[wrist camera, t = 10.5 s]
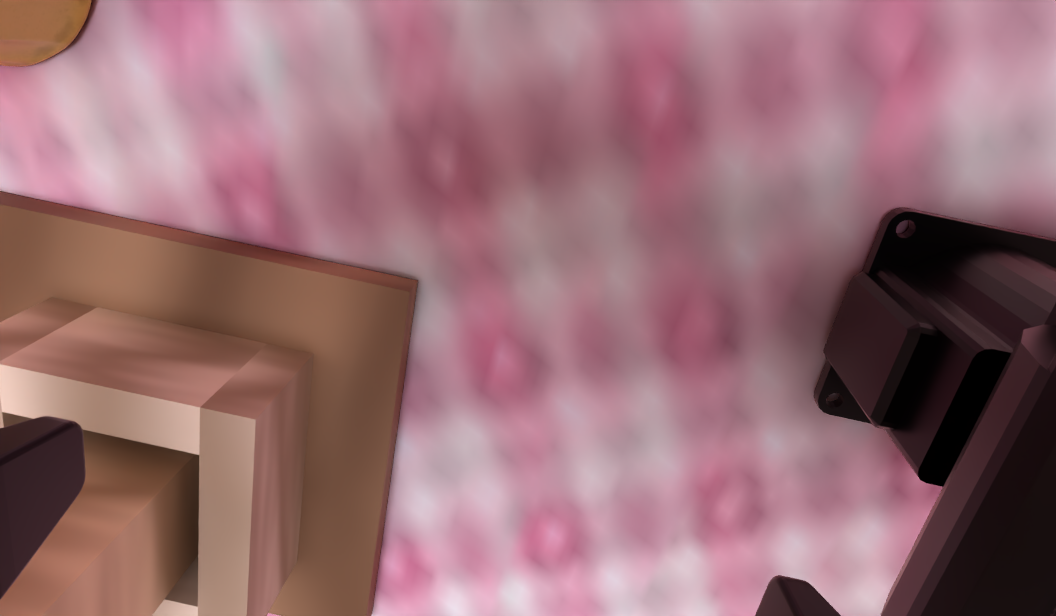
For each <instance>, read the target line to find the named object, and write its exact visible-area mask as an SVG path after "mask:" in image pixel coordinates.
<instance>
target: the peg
mask: <svg viewBox="0 0 1056 616" xmlns="http://www.w3.org/2000/svg"><path fill="white" fill-rule="evenodd" d="M82 430H83V429H82ZM83 438H84V453H85V469H86V476H85V482H84V485H83V487H82V489H81V491H80V493H79V495H78V496H77V498H76V499H75V500H74V502H73V503H72V504H71V506H70V507H69V509H68V510H67V511H66V513H65V514H64V515H63V517H62V518H61V519H60V521H59V522H58V523H57V525H56V526H55V528H54V529H53V530H52V532H51V533H50V534H49V536H48V537H47V538H46V540H45V541H44V543H43V544H42V545H41V547H40V548H39V549H38V551H37V552H36V553H35V555H34V556H33V557H32V559H31V560H30V562H29V563H28V564H27V566H26V567H25V568H24V570H23V571H22V572H21V574H20V575H19V577H18V578H17V579H16V581H15V582H14V583H13V584H12V586H11V587H10V588H9V589H8V591H7V592H6V593H5V595H4V596H3V597H2V598H1V599H0V616H152V615H153V613H154V612H155V611H156V610H157V608H158V607H159V606H160V604H161V603H162V602H163V600H164V599H165V598H166V596H167V595H168V594H169V592H170V591H171V590H172V589H173V587H174V586H175V585H176V583H177V582H178V581H179V579H180V578H181V577H182V575H183V574H184V573H185V572H186V570H187V569H188V568H189V566H190V565H191V564H192V562H193V561H194V560H195V558H196V557H197V556H198V543H199V455H197V454H193V453H188V452H184V451H179V450H174V449H170V448H165V447H161V446H156V445H152V444H147V443H142V442H138V441H133V440H129V439H124V438H120V437H115V436H110V435H106V434H101V433H97V432H92V431H87V430H83Z"/></svg>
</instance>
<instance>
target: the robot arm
mask: <svg viewBox="0 0 1056 616" xmlns="http://www.w3.org/2000/svg"><path fill="white" fill-rule="evenodd" d="M904 220H909V222H910V224H909V228H908V229H907V231H906V232H904V233H902V234H897V233H896V227H897V225H898V224H899V223H900V222H902V221H904ZM824 354H825V356H826V357H827V361H826V364H825V366H824V369H823V371H822V374H821V376H820V379H819V381H818V384H817V386H816V389H815V393H814V398H815V401H816V403H817V405H818V407H819V408H820V409H821V410H822V411H823V412H824V413H827V414H829V415H834V416H839V417H843V418H848V419H853V420H857V421H862V422H867V423H871V424H873V425H874V426H875V427H878V428H883V429H884V430H885V431H886V432H887V434H888V435H889V437H890V438H891V439H892V441H893V442H894V444H895V445H896V446H897V448H898V449H899V451H900V452H901V453H902V455H903V456H904V458H905V459H906V460H907V462H908V463H909V465H910V466H911V467H912V469H913V470H914V472H915V473H916V474H917V476H918V477H919V479H920V480H921V481H923V482H926V483H929V484H934V485H938V486H943V488H942V490H941V492H940V494H939V496H938V498H937V500H936V502H935V504H934V506H933V508H932V510H931V512H930V514H929V516H928V518H927V520H926V522H925V524H924V526H923V528H922V530H921V532H920V534H919V535H918V537H917V539H916V541H915V543H914V545H913V547H912V549H911V551H910V553H909V555H908V557H907V559H906V561H905V563H904V565H903V567H902V569H901V571H900V573H899V575H898V577H897V579H896V581H895V583H894V584H893V586H892V588H891V590H890V592H889V595H888V597H887V600H886V603H885V605H884V608H883V611H882V613H881V616H1056V239H1052V238H1047V237H1043V236H1038V235H1033V234H1028V233H1024V232H1019V231H1014V230H1009V229H1004V228H1000V227H995V226H990V225H985V224H981V223H976V222H971V221H966V220H961V219H957V218H952V217H947V216H942V215H938V214H933V213H928V212H923V211H918V210H914V209H909V208H898V209H895V210H892V211H891V212H890V213H888V214H887V215H886V216H885V218H884V220H883V221H882V223H881V226H880V228H879V231H878V233H877V236H876V238H875V241H874V244H873V246H872V249H871V251H870V254H869V256H868V259H867V261H866V264H865V266H864V269H863V271H862V272H860V273H859V274H857V275H856V276H854V277H853V278H852V279H851V282H850V284H849V287H848V289H847V292H846V294H845V297H844V300H843V302H842V305H841V307H840V310H839V312H838V315H837V317H836V320H835V322H834V325H833V327H832V330H831V332H830V335H829V338H828V340H827V343H826V345H825V348H824ZM833 393H838V394H839V396H838V398H837V399H836V400H834V401H826V398H827V397H828V396H829V395H830V394H833ZM85 476H86V469H85V453H84V438H83V430H82V428H81V426H80V425H79V424H78V423H77V422H75V421H71V420H67V419H62V418H57V417H53V416H42V417H38V418H34V419H31V420H27V421H24V422H20V423H17V424H13V425H10V426H6V427H3V428H0V599H1V598H2V597H3V596H4V595H5V593H6V592H7V591H8V589H9V588H10V587H11V586H12V584H13V583H14V582H15V581H16V579H17V578H18V577H19V575H20V574H21V572H22V571H23V570H24V568H25V567H26V566H27V564H28V563H29V562H30V560H31V559H32V557H33V556H34V555H35V553H36V552H37V551H38V549H39V548H40V547H41V545H42V544H43V543H44V541H45V540H46V538H47V537H48V536H49V534H50V533H51V532H52V530H53V529H54V528H55V526H56V525H57V523H58V522H59V521H60V519H61V518H62V517H63V515H64V514H65V513H66V511H67V510H68V509H69V507H70V506H71V504H72V503H73V502H74V500H75V499H76V498H77V496H78V495H79V493H80V491H81V489H82V487H83V485H84V482H85ZM755 616H841V615H840V614H839V613H838V612H837V611H836V610H835V609H834V608H833V607H832V606H831V605H830V604H829V603H828V602H827V601H826V600H825V599H824V598H823V597H822V596H821V595H820V594H819V593H818V592H817V590H816V589H815V588H814V587H813V586H812V585H810V584H809V583H808V582H806V581H803V580H799V579H795V578H790V577H785V576H781V575H778V576H775V577H773V578H772V579H771V581H770V582H769V584H768V586H767V589H766V591H765V593H764V596H763V598H762V600H761V603H760V605H759V608H758V610H757V612H756V615H755Z"/></svg>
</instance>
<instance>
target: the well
mask: <svg viewBox="0 0 1056 616" xmlns="http://www.w3.org/2000/svg"><path fill="white" fill-rule="evenodd" d="M417 284H418V281H417V280H413V279H408V278H403V277H399V276H394V275H389V274H384V273H380V272H375V271H370V270H366V269H361V268H356V267H352V266H347V265H342V264H338V263H333V262H328V261H324V260H319V259H314V258H309V257H305V256H300V255H295V254H291V253H286V252H281V251H277V250H272V249H267V248H263V247H258V246H253V245H249V244H244V243H239V242H234V241H230V240H225V239H220V238H216V237H211V236H206V235H202V234H197V233H192V232H188V231H183V230H178V229H174V228H169V227H164V226H159V225H155V224H150V223H145V222H141V221H136V220H131V219H127V218H122V217H117V216H113V215H108V214H103V213H99V212H94V211H89V210H84V209H80V208H75V207H70V206H66V205H61V204H56V203H52V202H47V201H42V200H38V199H33V198H28V197H24V196H19V195H14V194H9V193H5V192H0V428H3V427H6V426H10V425H13V424H17V423H20V422H24V421H27V420H31V419H34V418H38V417H42V416H53V417H57V418H62V419H67V420H71V421H75V422H77V423H78V424H79V425H80V426H81V428H82V429H83V430H87V431H92V432H97V433H101V434H106V435H110V436H115V437H120V438H124V439H129V440H133V441H138V442H142V443H147V444H152V445H156V446H161V447H165V448H170V449H174V450H179V451H184V452H188V453H193V454H197V455H199V543H198V556H197V557H196V558H195V560H194V561H193V562H192V564H191V565H190V566H189V568H188V569H187V570H186V572H185V573H184V574H183V575H182V577H181V578H180V579H179V581H178V582H177V583H176V585H175V586H174V587H173V589H172V590H171V591H170V592H169V594H168V595H167V596H166V598H165V599H164V600H163V602H162V603H161V604H160V606H159V607H158V608H157V610H156V611H155V612H154V613H153V615H152V616H267V614H268V613H272V614H276V615H281V616H371V615H372V610H373V602H374V595H375V588H376V581H377V573H378V566H379V559H380V552H381V544H382V537H383V530H384V523H385V516H386V508H387V501H388V494H389V487H390V479H391V472H392V465H393V458H394V450H395V443H396V436H397V429H398V421H399V414H400V407H401V400H402V393H403V385H404V378H405V371H406V364H407V356H408V349H409V342H410V335H411V327H412V320H413V313H414V306H415V299H416V291H417Z"/></svg>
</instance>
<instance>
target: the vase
mask: <svg viewBox="0 0 1056 616" xmlns="http://www.w3.org/2000/svg"><path fill="white" fill-rule="evenodd" d="M91 1H92V0H0V65H3V66H19V67H22V66H29V65H34V64H36V63H39V62H41V61H44V60H46V59H48V58H50V57H52V56H53V55H55V54H57V53H59V52H60V51H62V50H63V49H65V48H66V47H67V46H68V45H69V44H70V43H72V41H73V40H74V39H75V37H76V36H77V35H78V33H79V31H80V30H81V28H82V26H83V25H84V22H85V20H86V18H87V16H88V13H89V10H90V6H91Z"/></svg>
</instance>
